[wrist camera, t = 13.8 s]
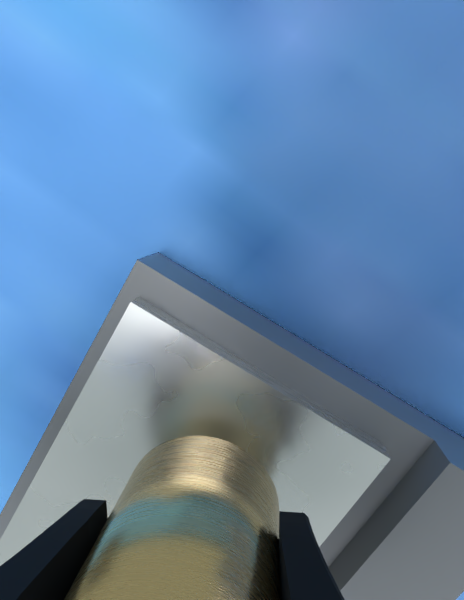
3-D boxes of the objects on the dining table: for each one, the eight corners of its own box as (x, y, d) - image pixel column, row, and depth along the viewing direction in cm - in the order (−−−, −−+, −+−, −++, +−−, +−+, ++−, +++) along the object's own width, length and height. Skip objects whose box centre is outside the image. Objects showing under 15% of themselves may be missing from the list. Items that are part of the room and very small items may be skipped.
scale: (487, 452, 15) (548, 522, 12) (219, 755, 20) (208, 870, 17) (158, 252, 15) (123, 264, 12) (-37, 608, 20) (-104, 693, 16)
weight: (312, 508, 11) (340, 728, 7) (207, 594, 12) (165, 840, 8) (195, 404, 11) (135, 554, 6) (98, 501, 12) (-20, 694, 7)
